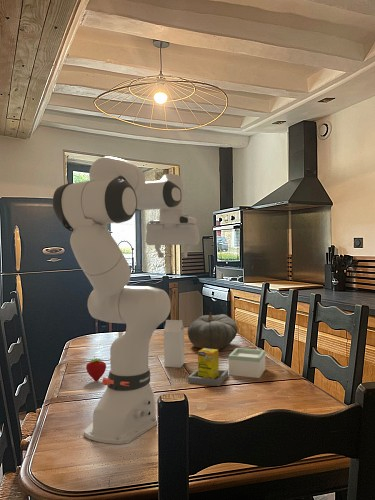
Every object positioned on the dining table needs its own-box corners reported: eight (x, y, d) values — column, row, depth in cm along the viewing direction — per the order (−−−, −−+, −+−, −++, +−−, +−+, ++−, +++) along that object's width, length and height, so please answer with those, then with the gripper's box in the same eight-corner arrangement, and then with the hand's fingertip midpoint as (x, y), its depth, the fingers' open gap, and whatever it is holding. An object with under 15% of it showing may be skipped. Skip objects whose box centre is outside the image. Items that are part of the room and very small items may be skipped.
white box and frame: (252, 390, 139) (252, 368, 139) (188, 382, 148) (187, 362, 147) (265, 368, 162) (265, 350, 162) (209, 363, 171) (208, 345, 171)
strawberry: (104, 384, 147) (103, 356, 147) (84, 384, 147) (83, 357, 147) (108, 378, 153) (107, 352, 153) (88, 378, 153) (88, 352, 153)
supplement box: (197, 380, 150) (197, 351, 150) (204, 375, 155) (204, 347, 155) (212, 382, 147) (212, 353, 147) (218, 377, 152) (218, 349, 152)
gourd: (239, 335, 211) (235, 303, 208) (240, 356, 186) (235, 320, 183) (192, 339, 214) (187, 308, 211) (187, 360, 189) (182, 326, 186)
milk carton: (181, 367, 165) (180, 322, 165) (164, 367, 166) (163, 321, 166) (184, 362, 172) (184, 318, 172) (168, 362, 173) (167, 318, 173)
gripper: (142, 220, 147) (143, 258, 147) (194, 218, 139) (195, 257, 139) (150, 221, 152) (150, 257, 153) (200, 219, 145) (201, 257, 145)
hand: (172, 257), depth 146 cm, fingers open, 8 cm apart
